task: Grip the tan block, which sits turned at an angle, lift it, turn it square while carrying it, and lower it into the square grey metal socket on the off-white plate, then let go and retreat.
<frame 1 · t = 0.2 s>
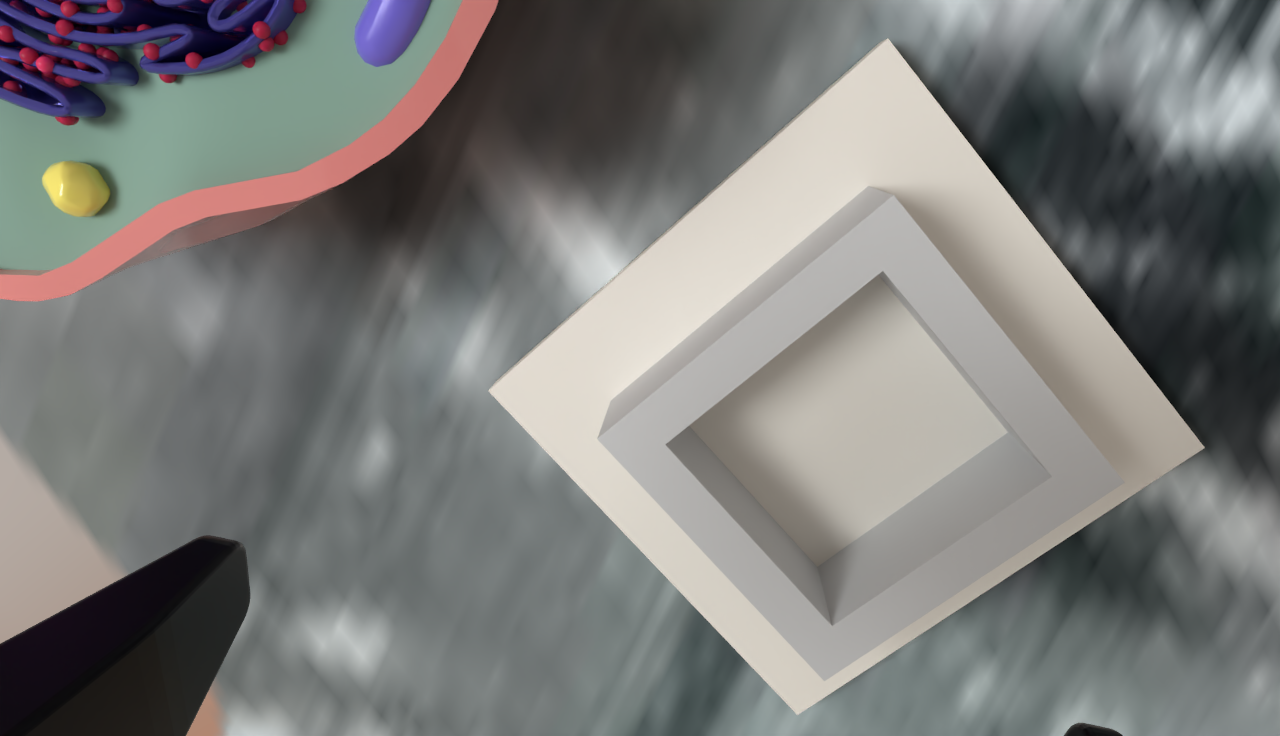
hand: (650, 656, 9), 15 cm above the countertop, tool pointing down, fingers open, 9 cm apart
socket plate: (831, 406, 24), on the countertop
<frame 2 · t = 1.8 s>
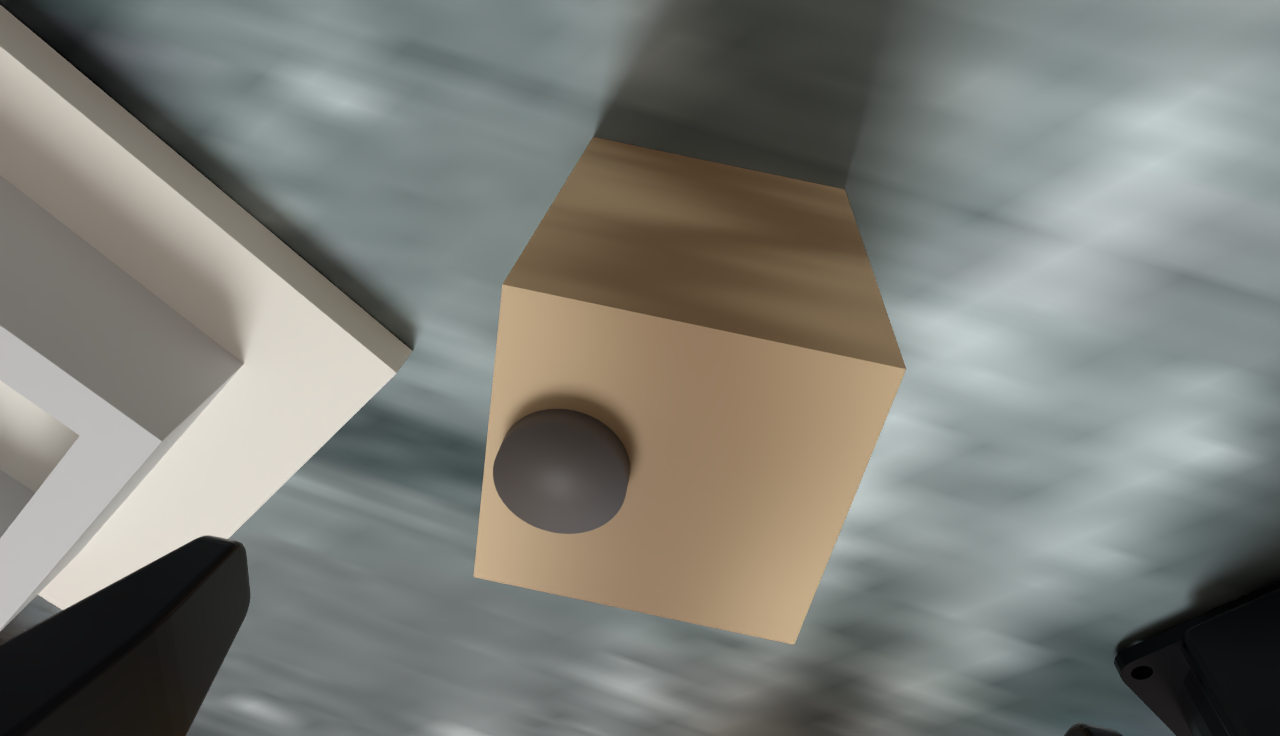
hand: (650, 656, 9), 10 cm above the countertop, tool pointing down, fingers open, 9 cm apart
tan block: (692, 277, 17), on the countertop
socket plate: (15, 328, 20), on the countertop
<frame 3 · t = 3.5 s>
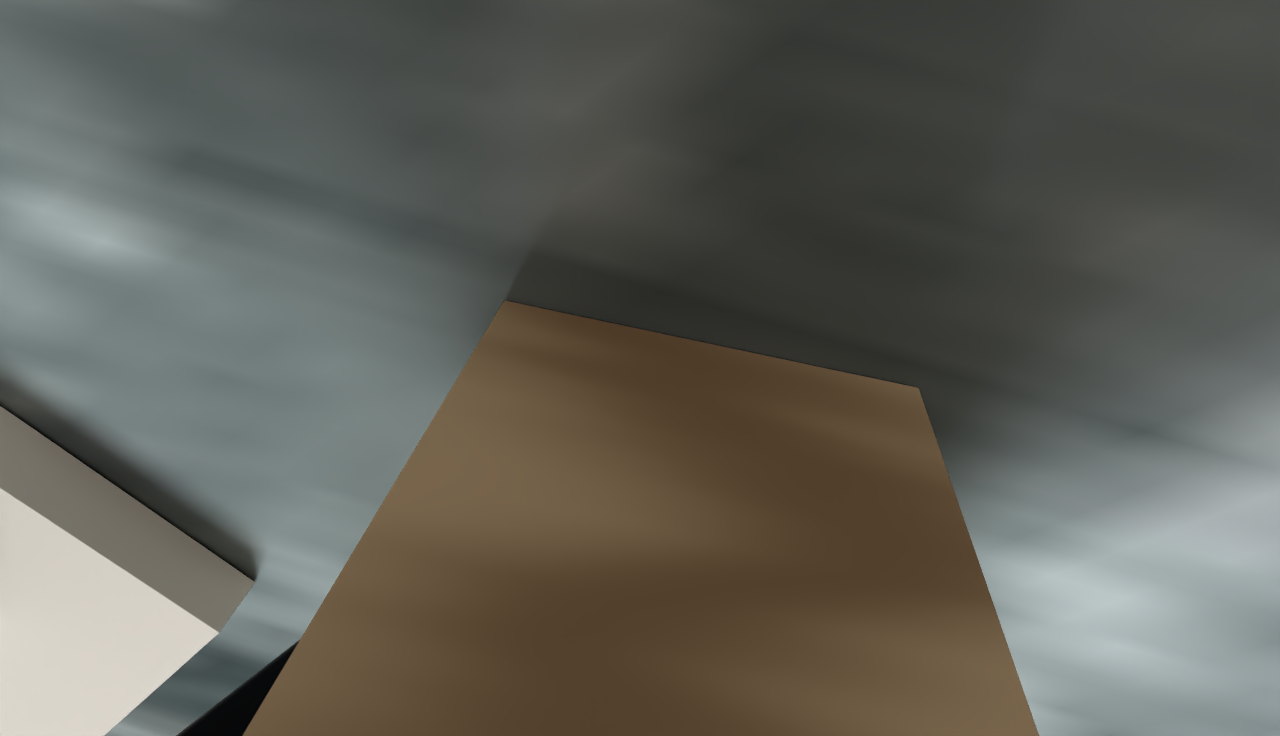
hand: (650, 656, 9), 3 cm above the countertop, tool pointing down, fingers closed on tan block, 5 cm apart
tan block: (670, 504, 11), on the countertop, touching gripper
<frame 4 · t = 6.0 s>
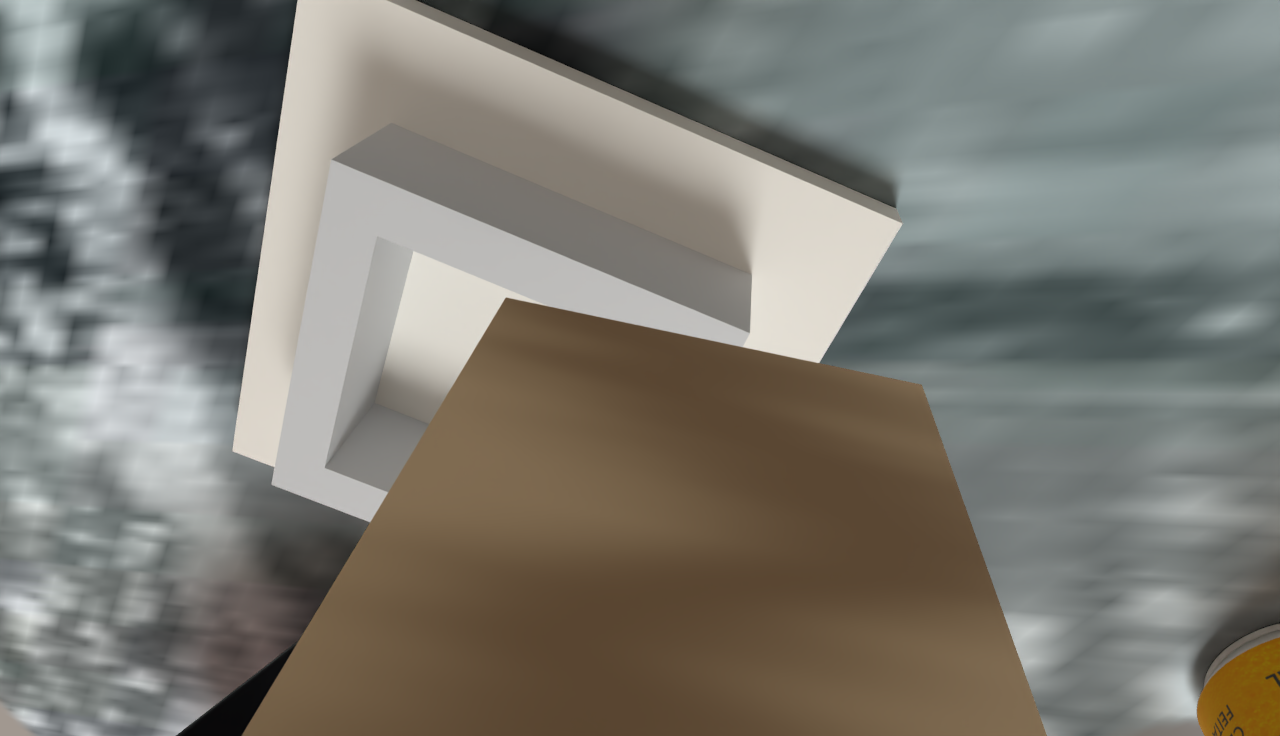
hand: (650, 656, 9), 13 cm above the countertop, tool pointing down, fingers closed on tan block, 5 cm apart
tan block: (672, 502, 11), point 10 cm above the countertop, touching gripper
socket plate: (529, 335, 22), on the countertop
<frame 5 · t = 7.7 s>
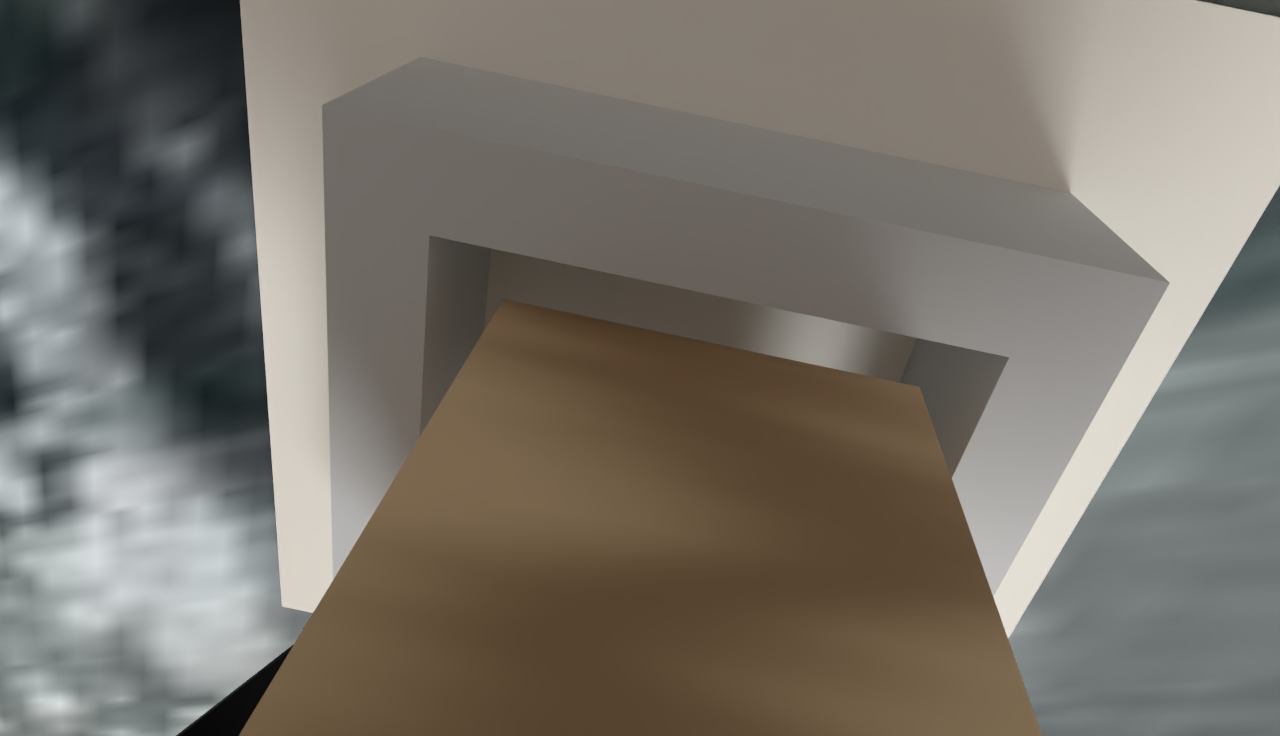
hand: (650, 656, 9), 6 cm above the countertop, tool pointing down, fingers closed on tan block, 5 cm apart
tan block: (670, 503, 11), point 4 cm above the countertop, touching gripper
socket plate: (682, 367, 14), on the countertop
when the fingers open (4 cm above the countertop, at t = 8.8 s): tan block stays where it is, resting on socket plate.
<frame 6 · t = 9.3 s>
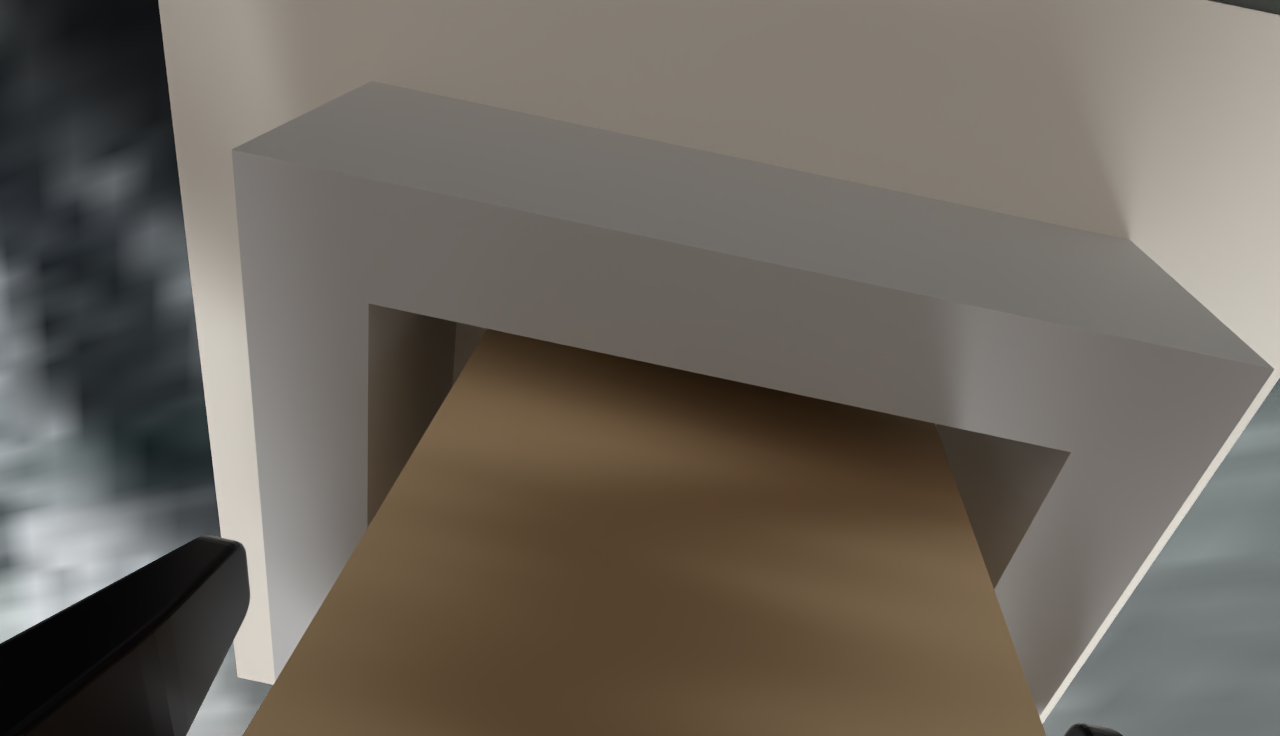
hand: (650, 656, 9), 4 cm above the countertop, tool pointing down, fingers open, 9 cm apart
tan block: (677, 459, 12), point 1 cm above the countertop, touching socket plate
socket plate: (678, 425, 13), on the countertop
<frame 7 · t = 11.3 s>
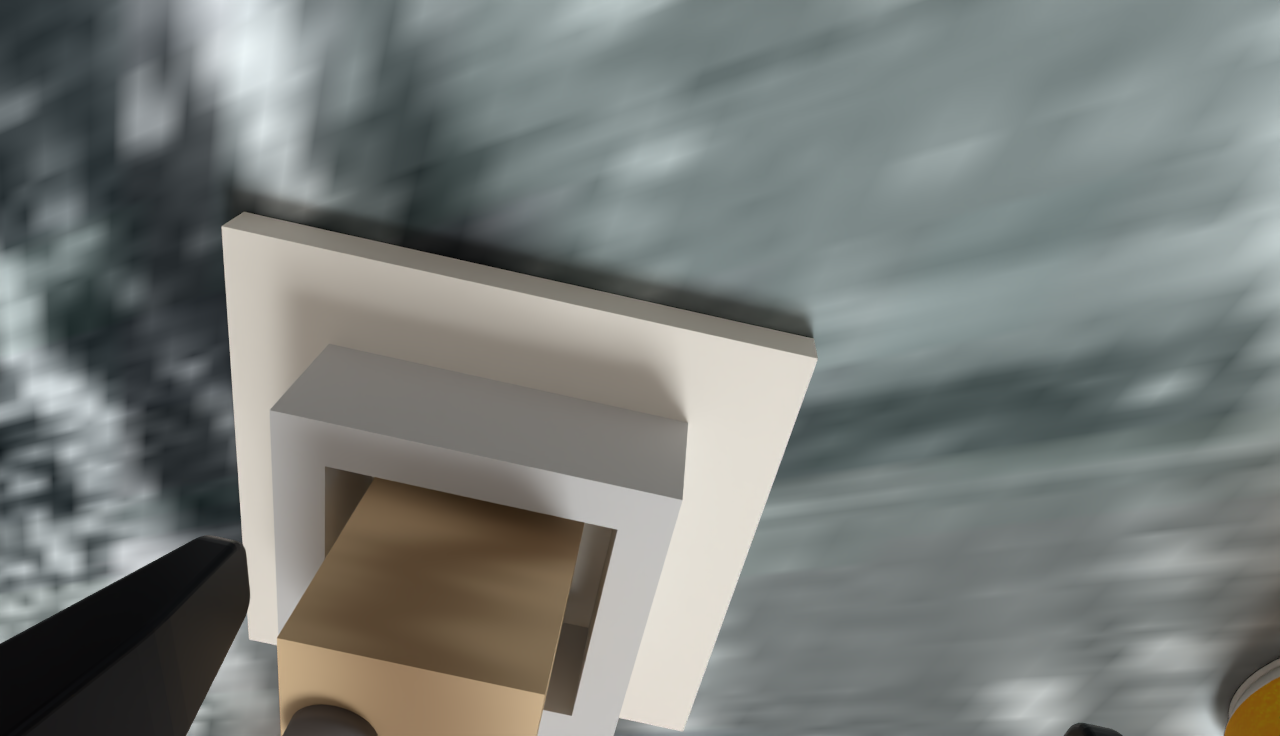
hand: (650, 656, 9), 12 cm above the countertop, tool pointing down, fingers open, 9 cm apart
tan block: (491, 518, 22), point 1 cm above the countertop, touching socket plate
socket plate: (499, 497, 23), on the countertop
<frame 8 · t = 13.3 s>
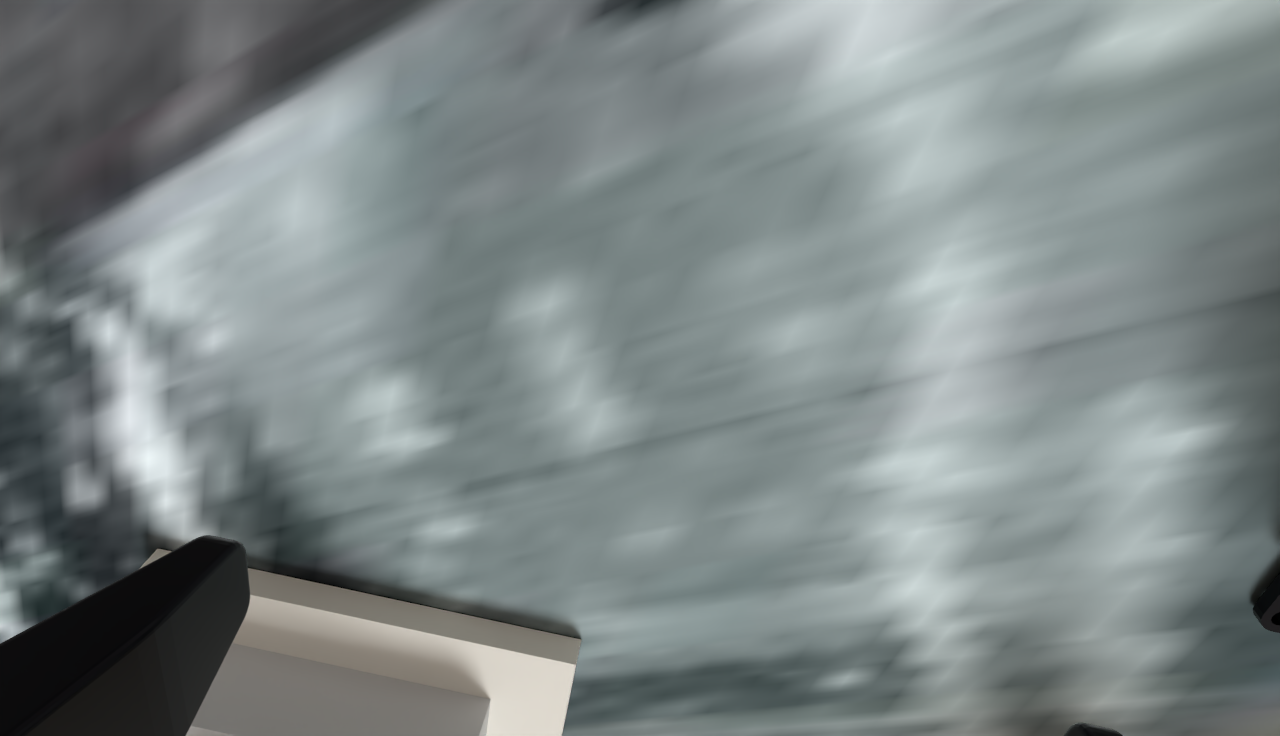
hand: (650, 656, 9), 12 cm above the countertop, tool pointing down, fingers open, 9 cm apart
socket plate: (368, 728, 30), on the countertop
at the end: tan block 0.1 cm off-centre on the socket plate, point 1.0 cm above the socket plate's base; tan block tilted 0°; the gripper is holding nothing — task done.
